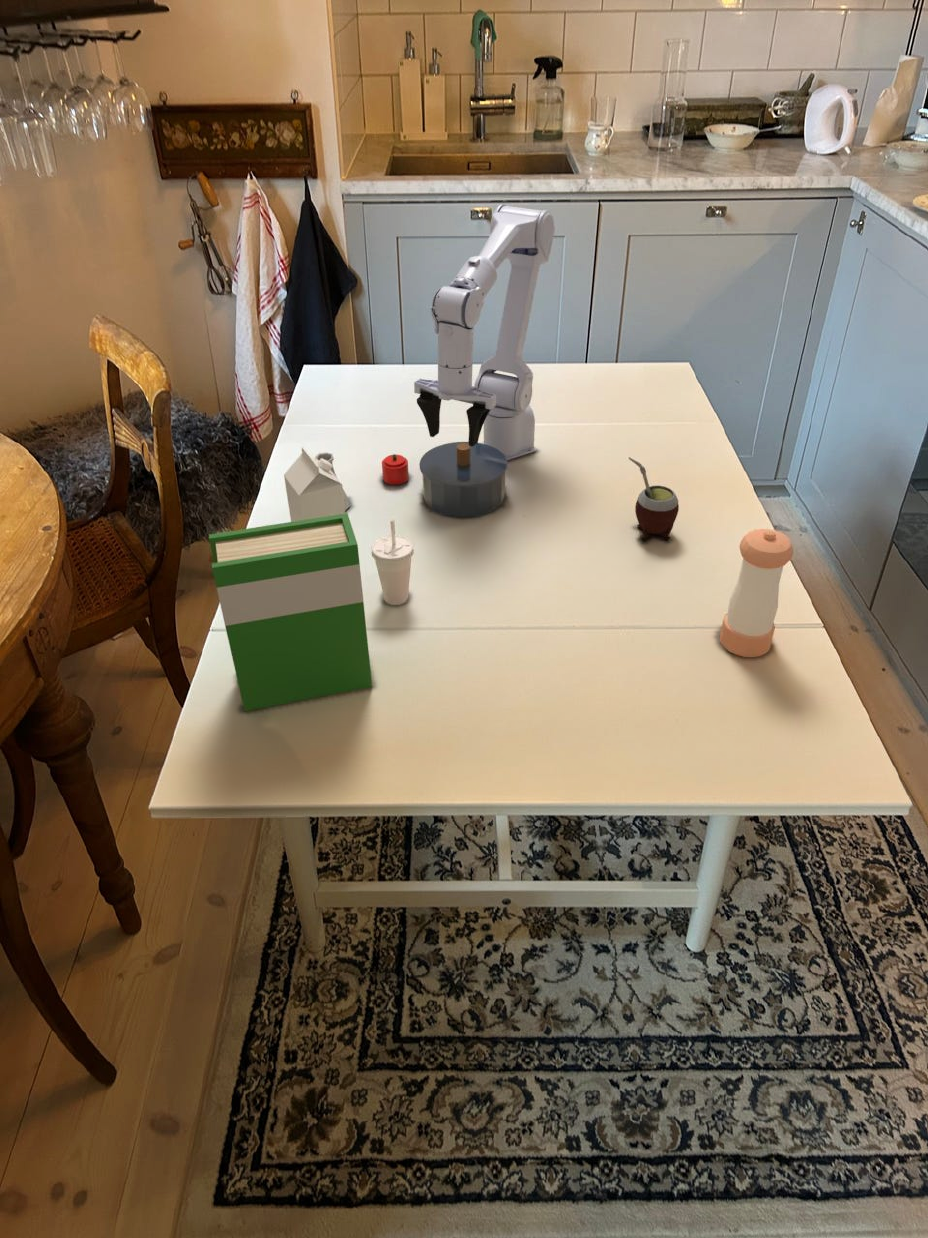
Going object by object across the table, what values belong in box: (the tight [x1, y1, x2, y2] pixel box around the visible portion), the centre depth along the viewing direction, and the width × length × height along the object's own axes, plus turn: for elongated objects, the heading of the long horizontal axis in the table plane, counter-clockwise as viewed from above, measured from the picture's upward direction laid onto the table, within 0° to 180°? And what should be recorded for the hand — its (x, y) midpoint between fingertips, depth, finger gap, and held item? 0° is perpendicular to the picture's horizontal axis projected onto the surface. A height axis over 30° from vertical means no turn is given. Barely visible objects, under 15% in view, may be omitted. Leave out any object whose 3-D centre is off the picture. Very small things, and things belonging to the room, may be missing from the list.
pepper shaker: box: [719, 528, 794, 658], centre depth 131 cm, size 7×7×19 cm
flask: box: [314, 452, 351, 511], centre depth 165 cm, size 7×7×10 cm
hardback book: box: [208, 512, 373, 712], centre depth 124 cm, size 18×7×24 cm, turn 105°
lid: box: [419, 441, 509, 488], centre depth 165 cm, size 16×16×4 cm
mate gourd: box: [628, 456, 680, 543], centre depth 155 cm, size 8×8×15 cm
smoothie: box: [370, 518, 415, 606], centre depth 142 cm, size 6×6×14 cm
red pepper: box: [381, 453, 410, 485], centre depth 173 cm, size 5×5×5 cm
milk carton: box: [283, 446, 346, 522], centre depth 149 cm, size 7×7×19 cm
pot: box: [421, 472, 506, 518], centre depth 168 cm, size 15×15×6 cm
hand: (453, 439), depth 162 cm, fingers open, 7 cm apart
